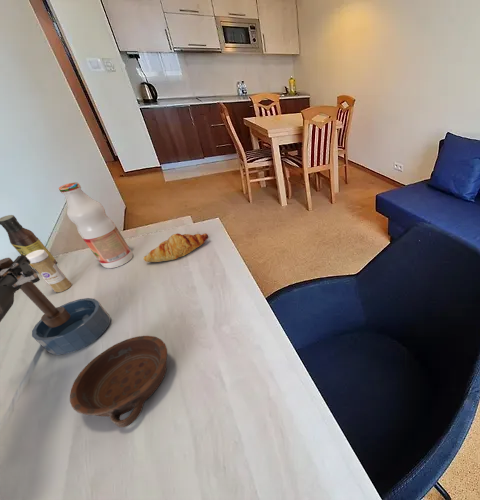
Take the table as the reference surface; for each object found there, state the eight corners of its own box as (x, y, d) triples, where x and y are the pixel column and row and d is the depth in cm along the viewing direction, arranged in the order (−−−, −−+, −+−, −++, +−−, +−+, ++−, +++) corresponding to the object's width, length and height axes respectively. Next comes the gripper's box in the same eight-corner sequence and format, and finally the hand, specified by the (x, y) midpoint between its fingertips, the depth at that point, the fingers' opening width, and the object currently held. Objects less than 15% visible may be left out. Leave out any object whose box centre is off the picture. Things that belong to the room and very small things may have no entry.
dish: (167, 330, 76) (158, 317, 73) (185, 397, 61) (175, 384, 58) (85, 370, 69) (71, 356, 66) (82, 458, 53) (64, 445, 50)
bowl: (39, 364, 71) (21, 349, 68) (59, 325, 81) (44, 309, 78) (105, 342, 75) (91, 326, 71) (116, 307, 85) (104, 291, 82)
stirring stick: (44, 330, 70) (-17, 270, 59) (51, 317, 73) (-5, 258, 63) (67, 323, 71) (11, 263, 61) (73, 311, 74) (20, 252, 64)
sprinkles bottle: (53, 294, 93) (22, 260, 85) (56, 286, 96) (26, 252, 88) (71, 288, 94) (42, 254, 86) (73, 281, 98) (45, 247, 90)
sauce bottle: (35, 267, 106) (-9, 218, 95) (57, 259, 110) (17, 210, 98) (36, 275, 102) (-10, 224, 91) (58, 266, 106) (17, 216, 94)
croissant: (152, 276, 102) (142, 265, 95) (142, 253, 105) (132, 241, 98) (215, 250, 110) (210, 238, 104) (204, 230, 114) (199, 217, 107)
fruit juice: (123, 267, 101) (72, 190, 85) (96, 270, 101) (39, 193, 85) (139, 251, 109) (94, 177, 93) (113, 253, 109) (64, 180, 93)
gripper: (5, 284, 52) (43, 237, 65) (-104, 313, 48) (-39, 256, 61) (35, 314, 56) (65, 264, 69) (-62, 343, 52) (-11, 284, 65)
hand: (16, 260), depth 65 cm, fingers closed on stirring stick, 2 cm apart
